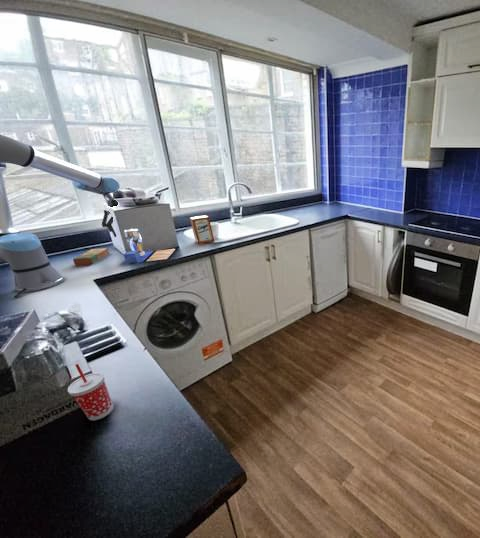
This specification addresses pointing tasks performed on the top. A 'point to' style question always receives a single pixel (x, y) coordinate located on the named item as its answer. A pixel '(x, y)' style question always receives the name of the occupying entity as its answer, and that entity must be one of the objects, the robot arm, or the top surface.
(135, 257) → the blue block
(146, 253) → the blue mat
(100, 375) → the beverage cup
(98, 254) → the carton
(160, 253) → the amber mat
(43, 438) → the top surface
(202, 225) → the baking soda box
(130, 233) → the beer glass
